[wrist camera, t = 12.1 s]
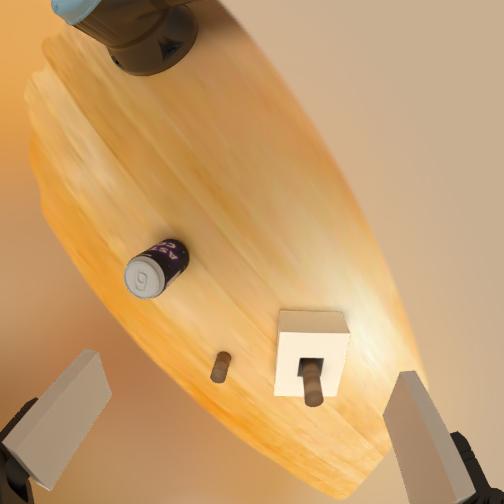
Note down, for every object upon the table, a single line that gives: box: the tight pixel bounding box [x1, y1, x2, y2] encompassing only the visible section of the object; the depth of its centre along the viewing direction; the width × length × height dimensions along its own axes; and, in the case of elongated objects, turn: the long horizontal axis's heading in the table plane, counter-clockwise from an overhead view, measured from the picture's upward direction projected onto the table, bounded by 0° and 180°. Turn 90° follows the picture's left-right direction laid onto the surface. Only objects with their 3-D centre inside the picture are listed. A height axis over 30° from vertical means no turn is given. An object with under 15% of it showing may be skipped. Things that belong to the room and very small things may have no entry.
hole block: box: [274, 310, 351, 396], centre depth 43 cm, size 12×10×7 cm
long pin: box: [301, 358, 323, 407], centre depth 40 cm, size 2×2×14 cm
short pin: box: [210, 352, 231, 383], centre depth 45 cm, size 2×2×6 cm
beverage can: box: [124, 239, 189, 299], centre depth 39 cm, size 6×6×12 cm
